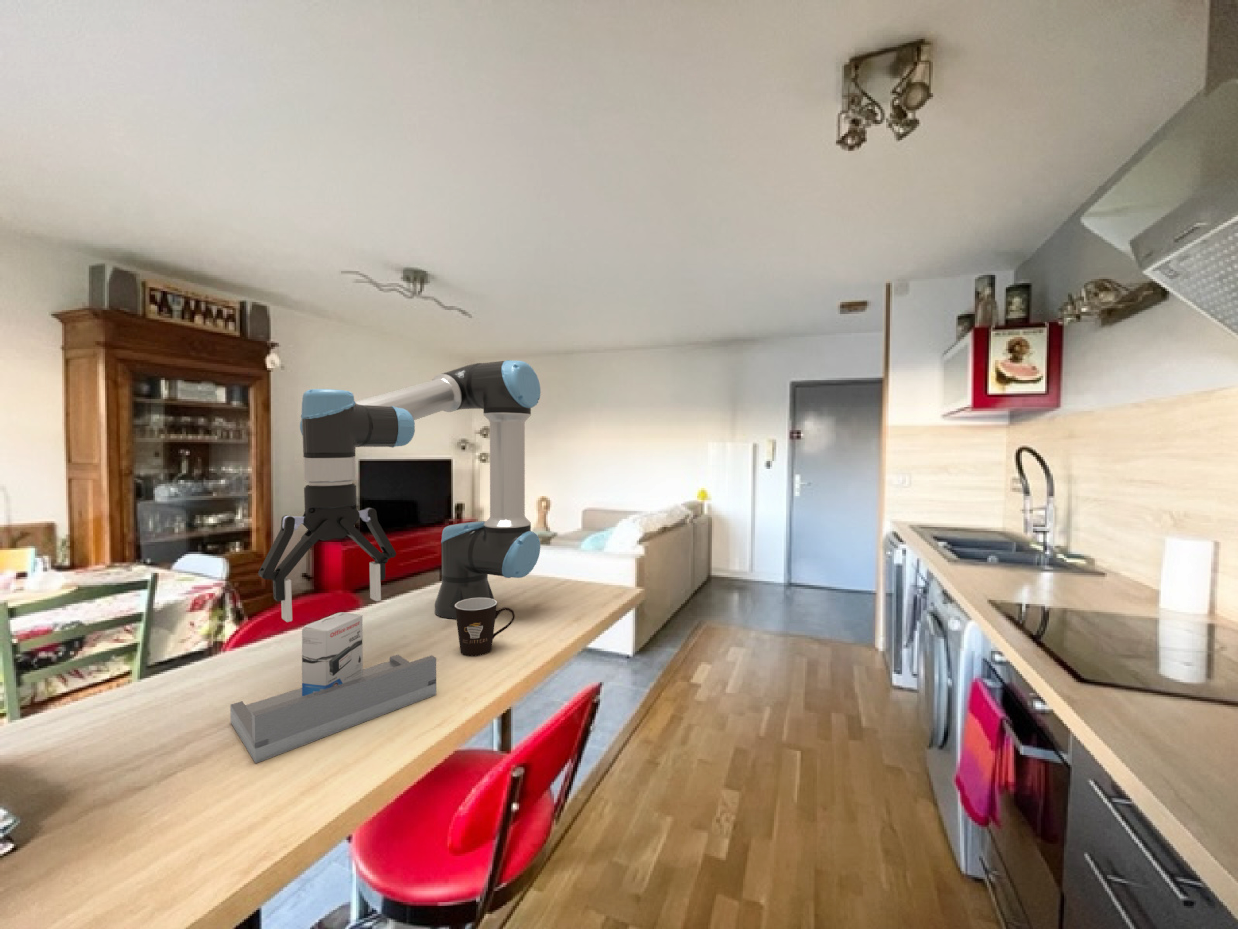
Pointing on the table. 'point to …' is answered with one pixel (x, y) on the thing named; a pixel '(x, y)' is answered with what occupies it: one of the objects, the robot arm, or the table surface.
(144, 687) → the table surface
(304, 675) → the ink box
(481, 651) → the coffee mug
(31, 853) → the table surface
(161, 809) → the table surface
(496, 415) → the robot arm
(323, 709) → the gray tray
